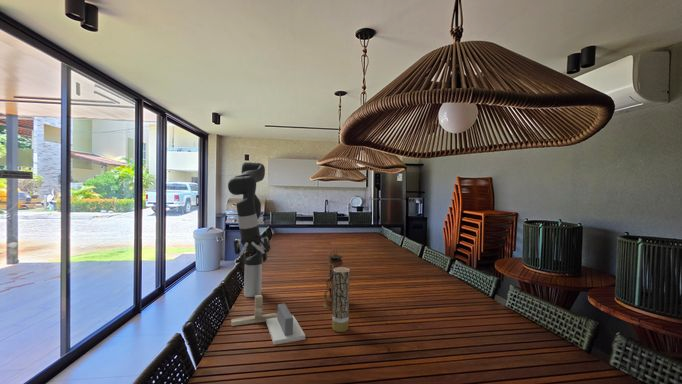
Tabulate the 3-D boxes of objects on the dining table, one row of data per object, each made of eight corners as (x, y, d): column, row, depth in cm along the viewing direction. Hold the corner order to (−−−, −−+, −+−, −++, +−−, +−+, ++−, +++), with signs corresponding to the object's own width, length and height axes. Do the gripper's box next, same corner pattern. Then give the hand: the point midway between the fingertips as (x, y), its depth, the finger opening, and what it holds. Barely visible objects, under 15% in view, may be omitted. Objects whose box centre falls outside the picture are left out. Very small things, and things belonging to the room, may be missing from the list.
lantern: (345, 313, 133) (346, 250, 134) (319, 310, 136) (320, 248, 136) (350, 300, 150) (351, 244, 151) (327, 298, 152) (328, 243, 153)
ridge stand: (266, 322, 121) (266, 303, 122) (293, 318, 126) (293, 300, 126) (273, 344, 103) (274, 323, 103) (305, 339, 108) (305, 318, 108)
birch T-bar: (231, 323, 120) (232, 298, 120) (282, 316, 129) (283, 292, 129) (231, 326, 117) (232, 300, 118) (283, 319, 126) (284, 294, 126)
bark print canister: (346, 333, 113) (348, 271, 113) (330, 331, 114) (331, 270, 115) (349, 326, 119) (350, 267, 120) (334, 324, 121) (335, 266, 121)
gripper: (268, 221, 117) (273, 257, 120) (235, 223, 118) (241, 259, 121) (263, 226, 110) (268, 264, 113) (227, 229, 111) (234, 267, 114)
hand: (254, 261), depth 117 cm, fingers open, 8 cm apart
